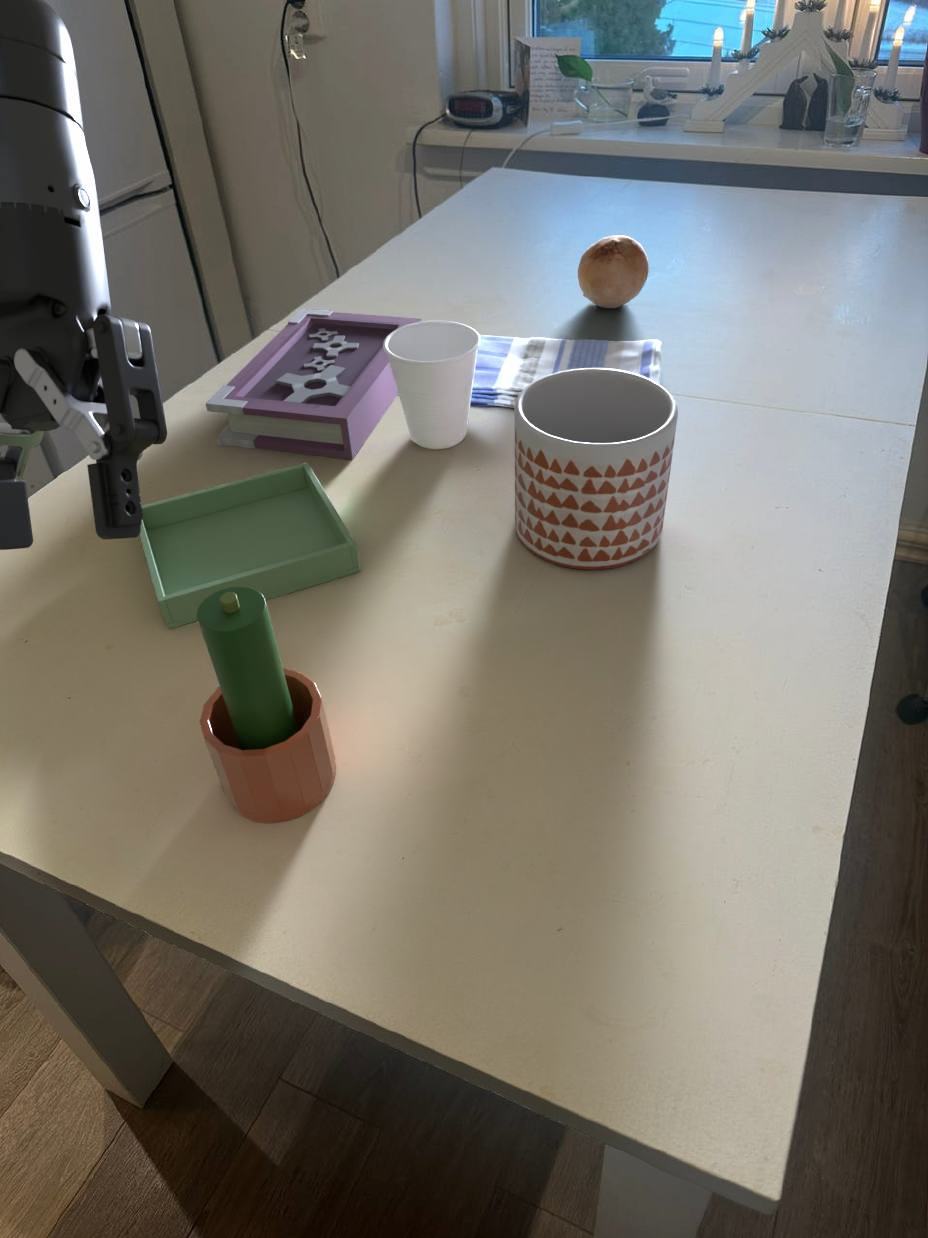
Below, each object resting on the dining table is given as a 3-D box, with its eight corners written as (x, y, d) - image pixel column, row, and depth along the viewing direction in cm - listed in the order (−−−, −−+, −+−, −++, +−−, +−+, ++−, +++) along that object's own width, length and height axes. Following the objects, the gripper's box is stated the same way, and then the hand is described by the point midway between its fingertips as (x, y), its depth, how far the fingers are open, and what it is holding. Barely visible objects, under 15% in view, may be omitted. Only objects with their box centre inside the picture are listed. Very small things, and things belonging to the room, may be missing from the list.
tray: (168, 629, 74) (158, 602, 72) (141, 534, 84) (131, 507, 82) (360, 571, 78) (356, 544, 76) (312, 488, 89) (307, 462, 87)
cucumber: (257, 801, 59) (200, 629, 48) (243, 759, 62) (187, 588, 51) (314, 780, 60) (270, 607, 50) (298, 740, 63) (253, 568, 52)
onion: (603, 335, 120) (593, 281, 111) (571, 294, 124) (559, 239, 115) (664, 300, 119) (659, 243, 111) (630, 260, 124) (622, 203, 115)
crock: (238, 840, 58) (214, 773, 53) (214, 756, 63) (190, 689, 58) (350, 797, 60) (336, 730, 55) (317, 720, 65) (302, 653, 61)
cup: (467, 466, 91) (462, 367, 83) (379, 453, 93) (367, 356, 86) (495, 420, 98) (493, 324, 90) (412, 409, 100) (404, 316, 93)
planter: (554, 589, 75) (558, 461, 67) (492, 506, 85) (488, 386, 77) (690, 548, 79) (711, 422, 70) (616, 473, 88) (626, 355, 80)
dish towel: (658, 423, 95) (661, 400, 94) (449, 409, 100) (447, 387, 98) (665, 354, 108) (668, 332, 106) (479, 344, 112) (478, 323, 110)
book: (307, 345, 114) (301, 308, 111) (425, 355, 111) (422, 317, 107) (216, 444, 96) (205, 403, 93) (352, 460, 93) (346, 418, 89)
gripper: (-136, 238, 44) (-88, 557, 46) (47, 160, 37) (96, 538, 39) (2, 270, 51) (40, 548, 52) (179, 209, 44) (216, 531, 46)
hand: (64, 544), depth 46 cm, fingers open, 8 cm apart
